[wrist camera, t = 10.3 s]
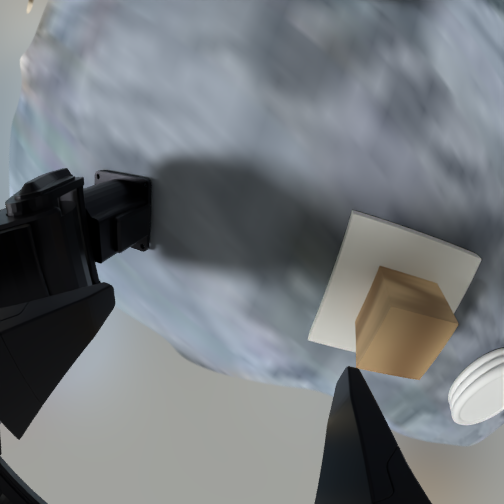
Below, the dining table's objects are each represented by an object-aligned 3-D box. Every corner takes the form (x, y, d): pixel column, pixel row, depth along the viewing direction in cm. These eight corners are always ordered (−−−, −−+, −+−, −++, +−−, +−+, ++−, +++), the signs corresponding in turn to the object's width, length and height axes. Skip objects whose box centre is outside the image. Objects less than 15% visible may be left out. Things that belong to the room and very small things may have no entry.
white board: (309, 332, 23) (307, 340, 22) (352, 209, 18) (353, 213, 17) (417, 358, 21) (419, 365, 20) (476, 253, 16) (481, 259, 15)
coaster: (445, 369, 21) (452, 395, 18) (521, 330, 17) (534, 352, 13) (447, 414, 23) (451, 436, 20) (512, 383, 19) (520, 403, 16)
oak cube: (354, 321, 20) (356, 368, 16) (379, 265, 18) (391, 306, 13) (408, 334, 19) (419, 379, 15) (437, 283, 17) (458, 324, 12)
